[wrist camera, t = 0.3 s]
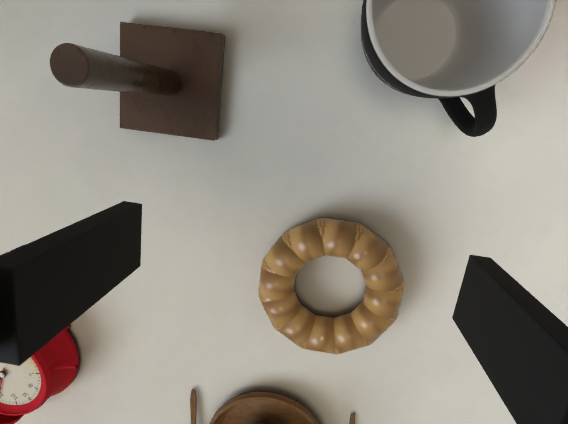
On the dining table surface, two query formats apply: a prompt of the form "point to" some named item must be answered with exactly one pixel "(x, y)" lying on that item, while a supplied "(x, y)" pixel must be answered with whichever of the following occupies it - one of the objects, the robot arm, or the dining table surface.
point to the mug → (452, 49)
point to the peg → (154, 78)
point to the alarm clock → (37, 377)
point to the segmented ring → (340, 243)
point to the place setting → (259, 410)
